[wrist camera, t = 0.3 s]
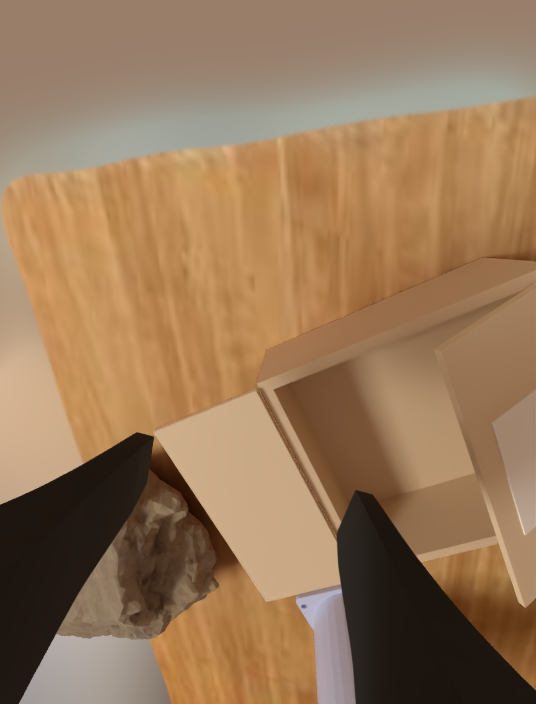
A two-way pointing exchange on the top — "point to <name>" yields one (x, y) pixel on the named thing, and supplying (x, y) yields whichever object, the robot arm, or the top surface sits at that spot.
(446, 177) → the top surface
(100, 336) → the top surface
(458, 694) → the robot arm
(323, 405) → the carton
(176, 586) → the artifact
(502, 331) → the cardboard box flap
